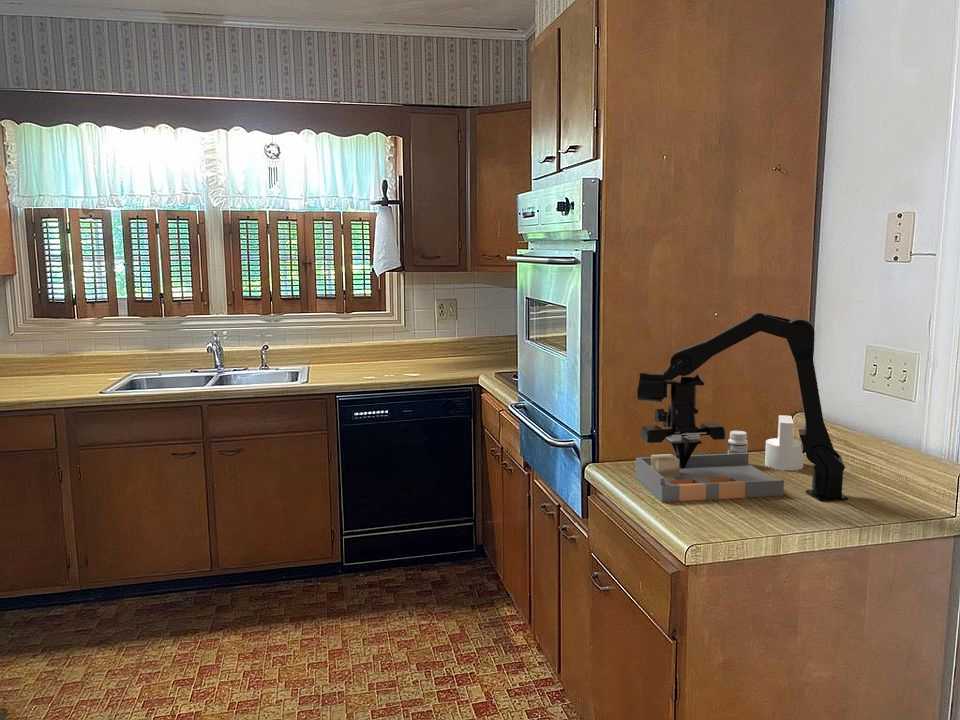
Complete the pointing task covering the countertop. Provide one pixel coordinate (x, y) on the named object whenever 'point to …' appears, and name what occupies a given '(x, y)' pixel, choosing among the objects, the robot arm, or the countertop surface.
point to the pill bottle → (737, 442)
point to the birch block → (665, 465)
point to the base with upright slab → (784, 448)
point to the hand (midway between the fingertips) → (682, 468)
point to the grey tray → (709, 479)
